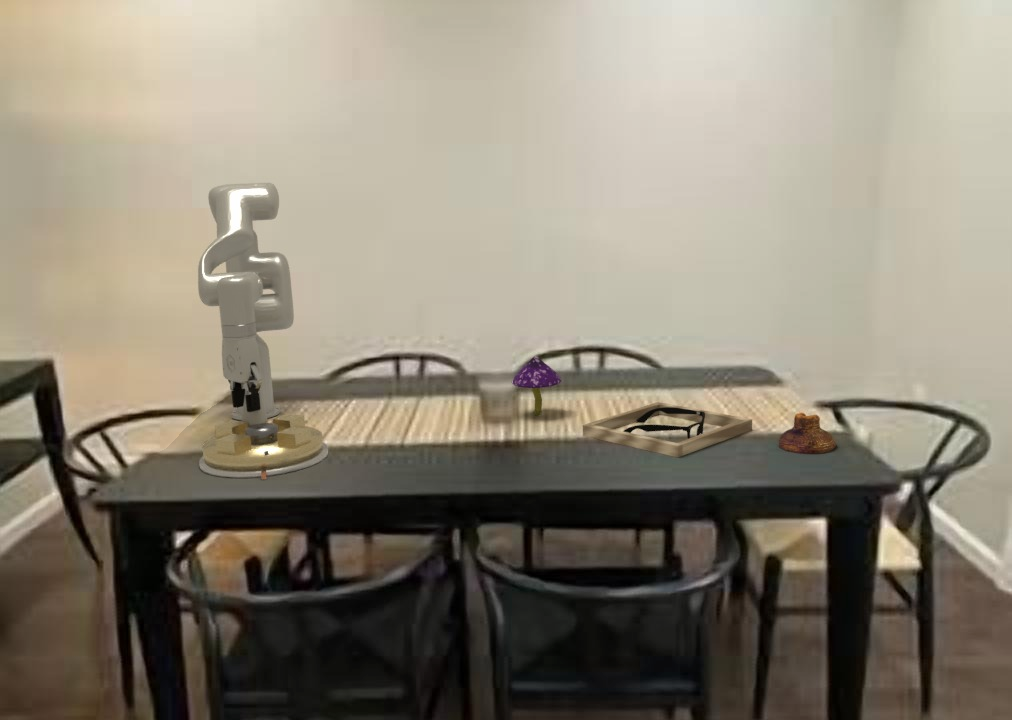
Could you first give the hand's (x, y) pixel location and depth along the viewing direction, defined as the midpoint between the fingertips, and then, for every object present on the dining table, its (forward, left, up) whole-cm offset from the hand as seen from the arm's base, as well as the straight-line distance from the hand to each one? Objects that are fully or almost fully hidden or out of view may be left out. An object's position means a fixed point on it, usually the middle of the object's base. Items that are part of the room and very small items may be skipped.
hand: (246, 407), depth 231 cm
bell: (+96, +79, -10) cm, 125 cm away
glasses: (+66, +69, -10) cm, 96 cm away
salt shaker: (0, +1, -6) cm, 6 cm away
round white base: (+9, -2, -10) cm, 14 cm away
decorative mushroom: (+31, +62, -10) cm, 70 cm away
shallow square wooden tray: (+66, +69, -10) cm, 96 cm away
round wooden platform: (+9, -2, -9) cm, 13 cm away
